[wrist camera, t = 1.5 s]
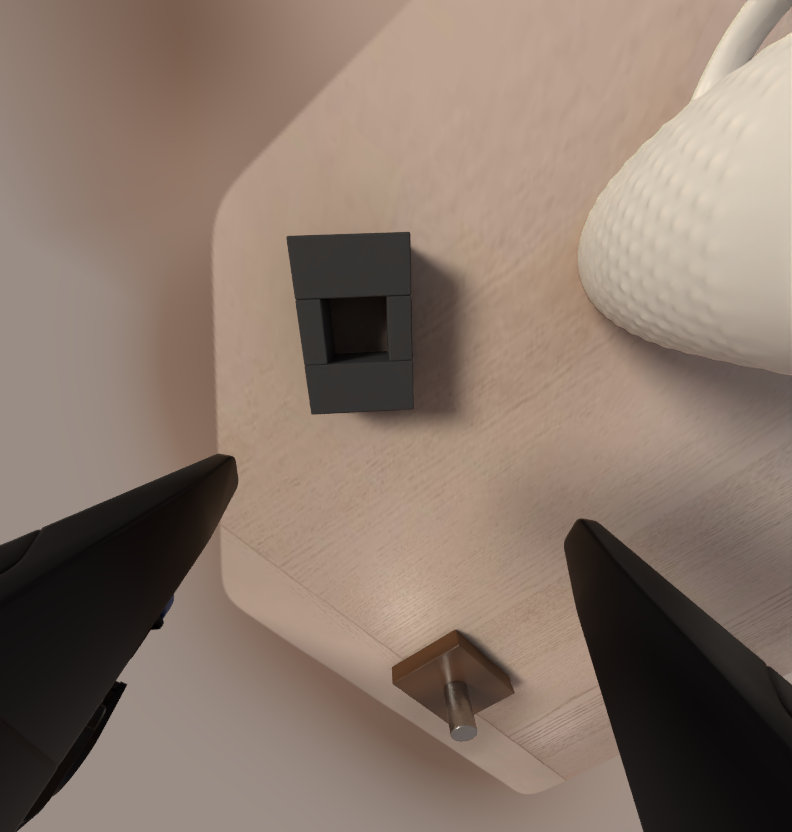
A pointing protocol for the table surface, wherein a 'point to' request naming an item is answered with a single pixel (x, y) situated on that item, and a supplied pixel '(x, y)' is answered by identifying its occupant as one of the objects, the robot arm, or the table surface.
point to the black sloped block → (350, 278)
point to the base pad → (453, 682)
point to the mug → (707, 212)
